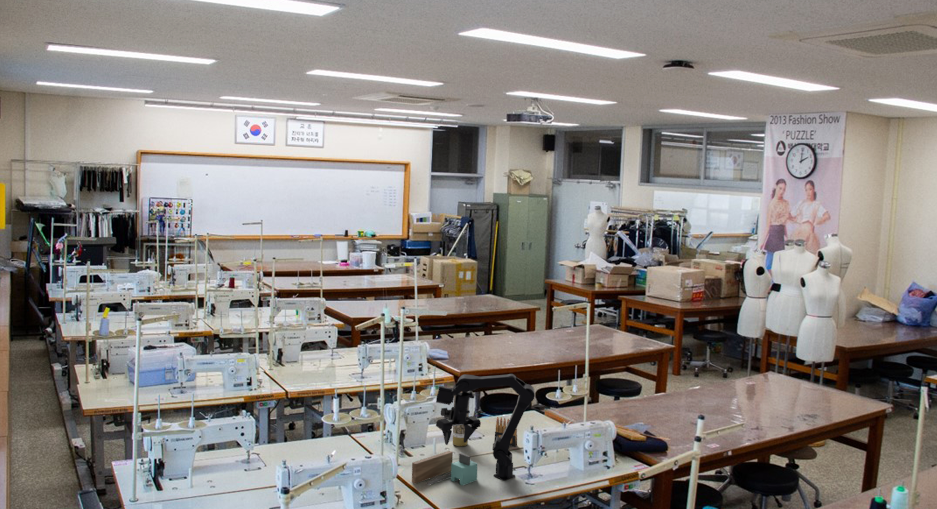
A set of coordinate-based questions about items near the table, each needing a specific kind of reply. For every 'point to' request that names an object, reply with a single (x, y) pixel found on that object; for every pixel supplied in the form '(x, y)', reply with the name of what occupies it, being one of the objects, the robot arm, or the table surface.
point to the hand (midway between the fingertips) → (455, 443)
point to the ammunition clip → (501, 429)
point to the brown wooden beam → (432, 468)
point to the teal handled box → (464, 470)
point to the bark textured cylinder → (459, 433)
